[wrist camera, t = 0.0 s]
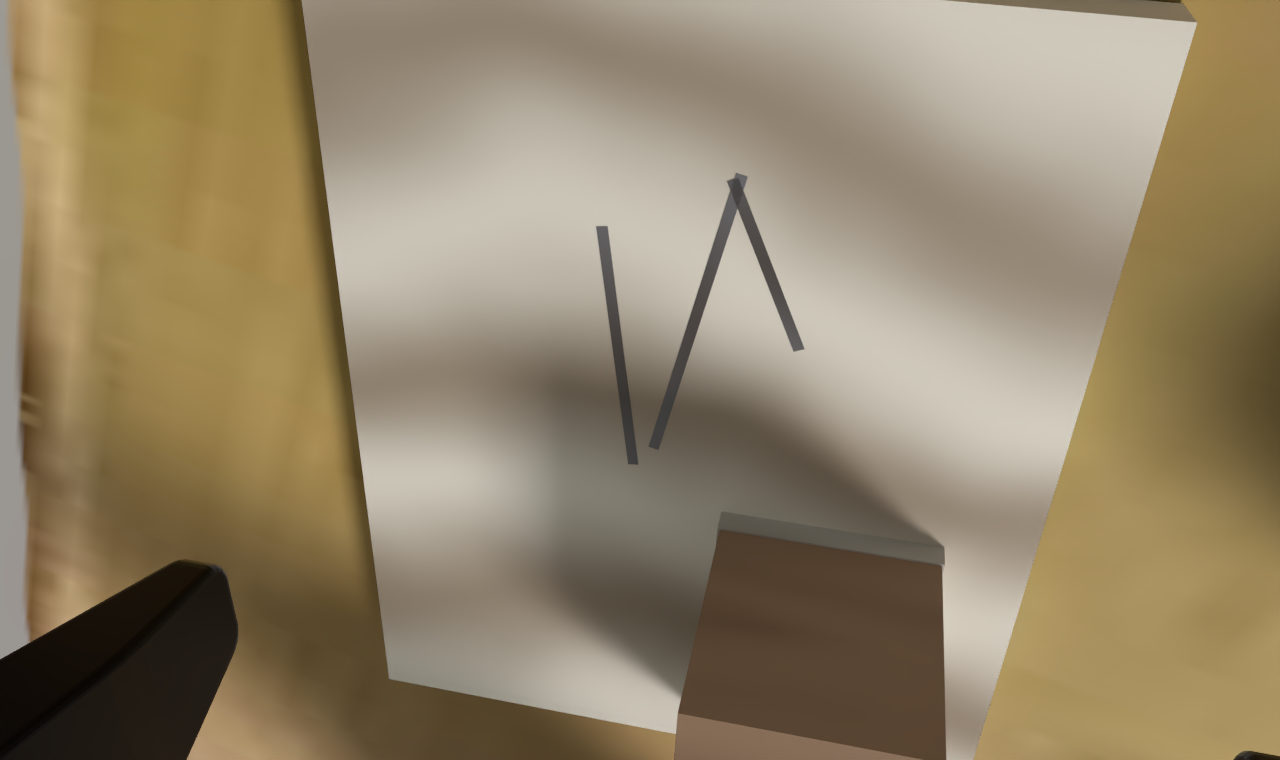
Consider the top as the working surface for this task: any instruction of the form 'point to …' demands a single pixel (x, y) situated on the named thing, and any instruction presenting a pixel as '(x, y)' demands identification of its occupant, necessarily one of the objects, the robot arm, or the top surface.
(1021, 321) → the birch board
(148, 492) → the top surface
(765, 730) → the block
